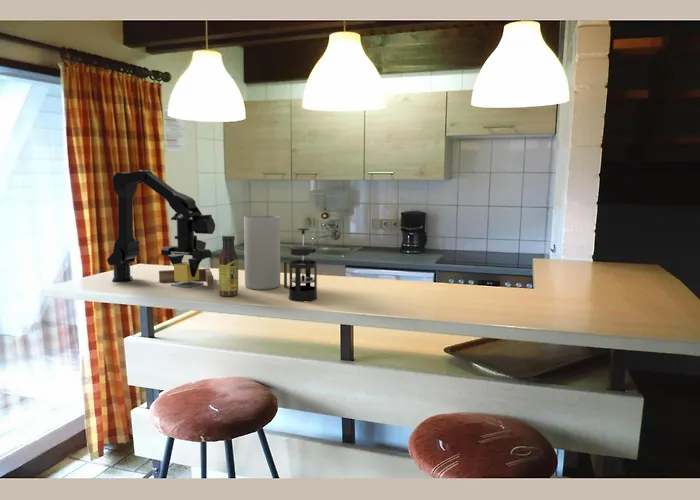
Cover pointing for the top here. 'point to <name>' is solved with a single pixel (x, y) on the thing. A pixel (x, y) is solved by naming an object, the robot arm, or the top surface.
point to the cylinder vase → (262, 252)
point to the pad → (187, 284)
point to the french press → (300, 291)
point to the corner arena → (203, 275)
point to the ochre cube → (184, 273)
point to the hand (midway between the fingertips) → (186, 276)
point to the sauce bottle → (228, 267)
